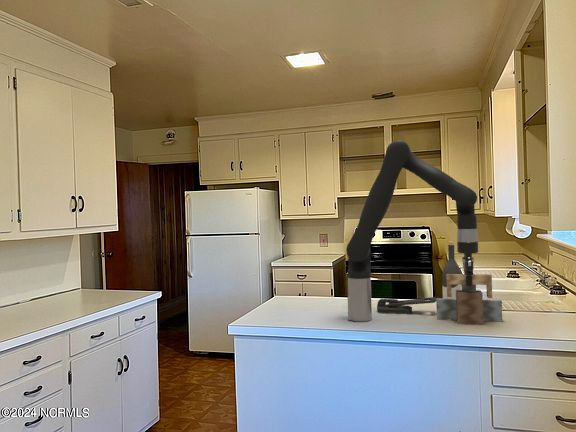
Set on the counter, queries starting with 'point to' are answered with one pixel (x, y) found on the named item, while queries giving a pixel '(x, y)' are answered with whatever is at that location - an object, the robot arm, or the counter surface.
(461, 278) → the wooden bridge block
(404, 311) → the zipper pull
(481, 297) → the grey brown blocky piece
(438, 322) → the counter surface
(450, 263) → the wine bottle
